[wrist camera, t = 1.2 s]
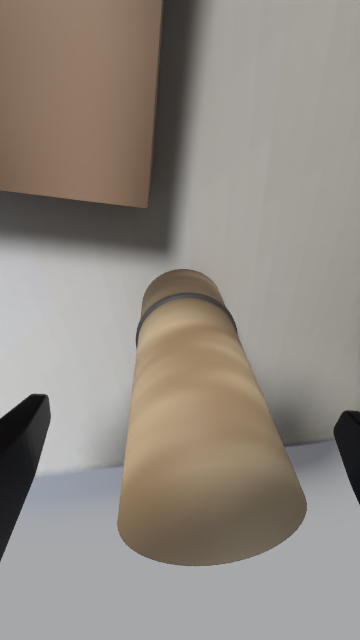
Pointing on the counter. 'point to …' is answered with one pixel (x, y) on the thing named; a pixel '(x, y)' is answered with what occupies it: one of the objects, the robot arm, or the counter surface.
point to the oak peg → (201, 437)
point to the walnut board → (79, 98)
